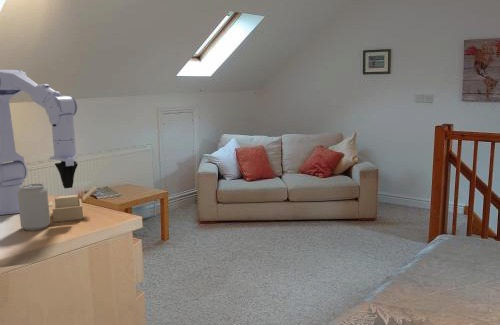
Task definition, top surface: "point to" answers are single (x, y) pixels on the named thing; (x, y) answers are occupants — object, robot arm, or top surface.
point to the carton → (67, 211)
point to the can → (33, 207)
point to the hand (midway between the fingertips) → (68, 187)
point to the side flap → (89, 193)
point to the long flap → (66, 202)
